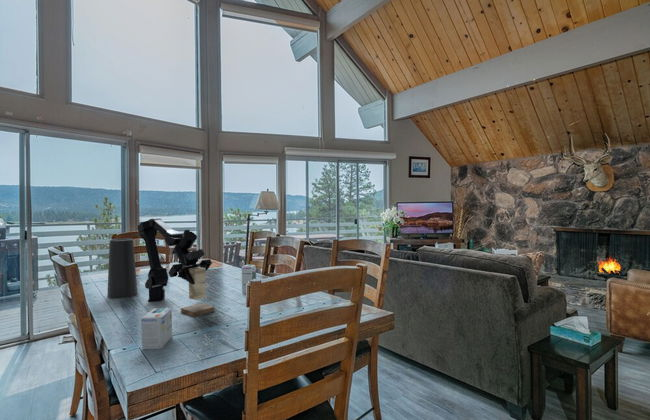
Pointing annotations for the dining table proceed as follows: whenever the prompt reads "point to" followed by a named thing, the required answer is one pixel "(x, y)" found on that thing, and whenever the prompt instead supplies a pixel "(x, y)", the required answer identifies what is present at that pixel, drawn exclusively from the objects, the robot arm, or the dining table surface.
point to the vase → (121, 269)
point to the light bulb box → (156, 328)
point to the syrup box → (247, 275)
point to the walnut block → (197, 309)
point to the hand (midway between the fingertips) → (199, 282)
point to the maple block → (197, 283)
